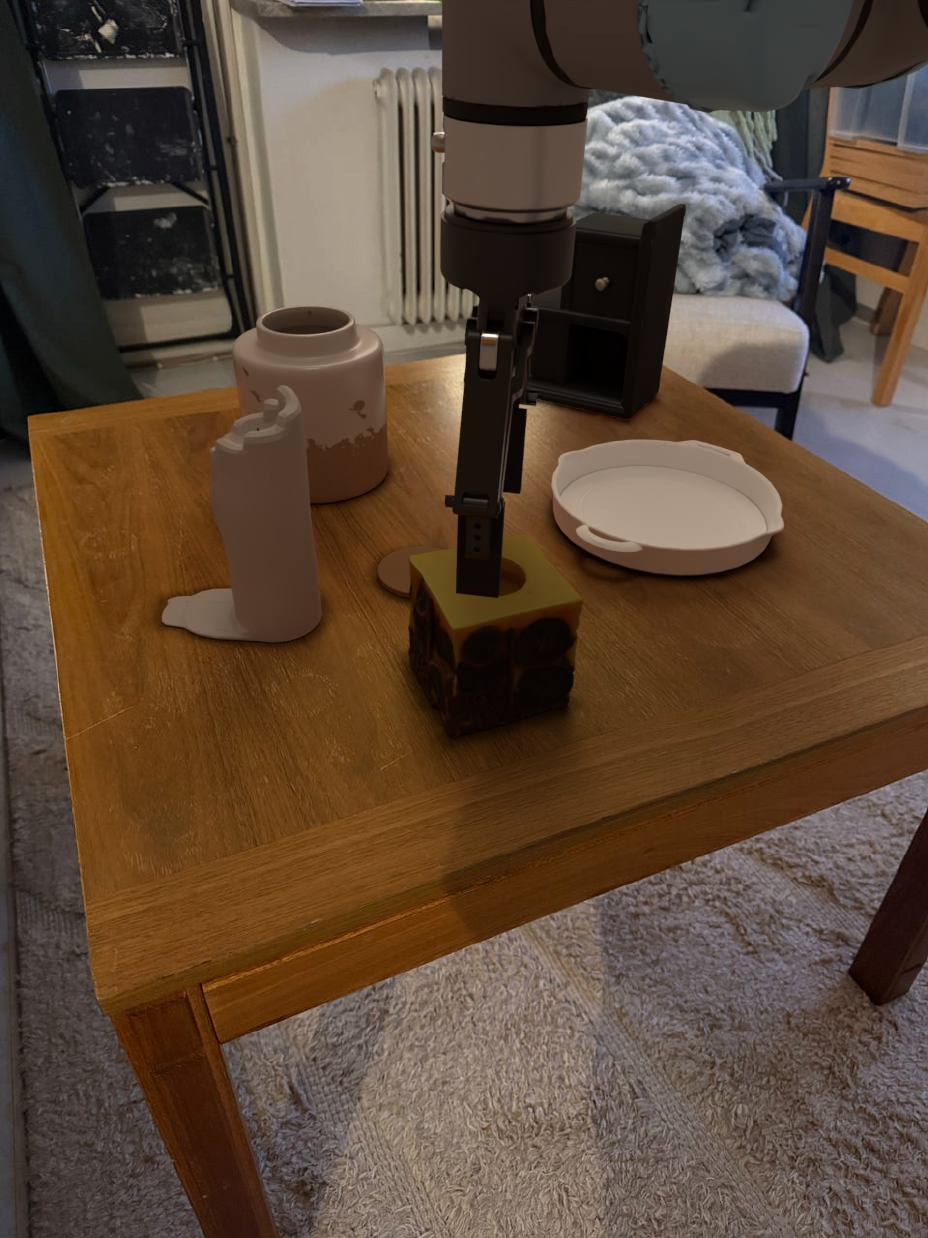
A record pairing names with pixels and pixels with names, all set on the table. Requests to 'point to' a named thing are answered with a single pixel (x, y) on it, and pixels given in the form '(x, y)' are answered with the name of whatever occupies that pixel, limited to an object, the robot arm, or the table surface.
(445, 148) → the robot arm
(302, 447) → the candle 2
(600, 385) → the black mini drawer cabinet
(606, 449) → the pan
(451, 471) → the table surface
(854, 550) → the table surface
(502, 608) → the candle
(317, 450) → the vase
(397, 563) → the coaster
